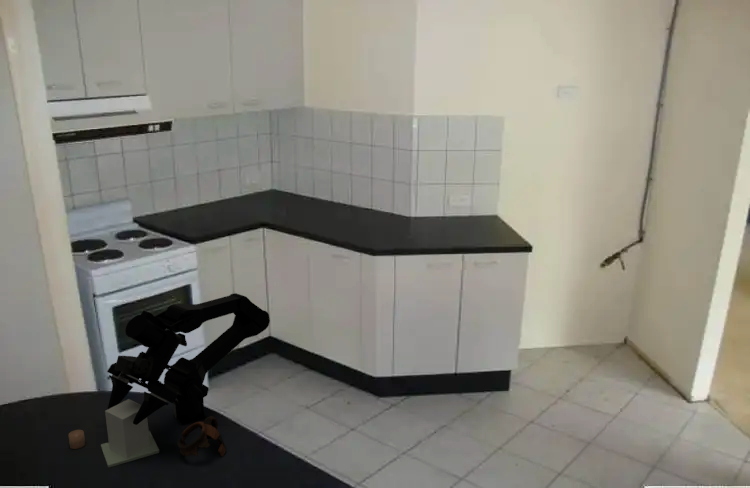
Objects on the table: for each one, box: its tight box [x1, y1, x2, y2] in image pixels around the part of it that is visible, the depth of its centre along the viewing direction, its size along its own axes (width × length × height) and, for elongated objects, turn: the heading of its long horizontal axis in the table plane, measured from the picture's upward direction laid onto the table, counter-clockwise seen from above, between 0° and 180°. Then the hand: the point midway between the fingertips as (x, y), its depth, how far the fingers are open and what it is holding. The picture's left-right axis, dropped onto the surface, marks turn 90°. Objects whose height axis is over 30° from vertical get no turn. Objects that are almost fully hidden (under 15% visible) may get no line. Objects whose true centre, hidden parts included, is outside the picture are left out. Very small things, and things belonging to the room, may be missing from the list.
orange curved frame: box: [177, 415, 227, 457], centre depth 145 cm, size 12×10×8 cm
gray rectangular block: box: [104, 398, 150, 459], centre depth 144 cm, size 6×6×10 cm
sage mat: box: [100, 430, 160, 468], centre depth 145 cm, size 11×9×1 cm
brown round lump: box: [68, 429, 86, 450], centre depth 146 cm, size 3×3×3 cm
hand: (121, 417), depth 142 cm, fingers open, 9 cm apart
